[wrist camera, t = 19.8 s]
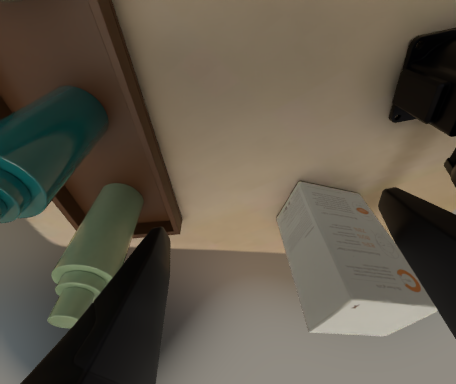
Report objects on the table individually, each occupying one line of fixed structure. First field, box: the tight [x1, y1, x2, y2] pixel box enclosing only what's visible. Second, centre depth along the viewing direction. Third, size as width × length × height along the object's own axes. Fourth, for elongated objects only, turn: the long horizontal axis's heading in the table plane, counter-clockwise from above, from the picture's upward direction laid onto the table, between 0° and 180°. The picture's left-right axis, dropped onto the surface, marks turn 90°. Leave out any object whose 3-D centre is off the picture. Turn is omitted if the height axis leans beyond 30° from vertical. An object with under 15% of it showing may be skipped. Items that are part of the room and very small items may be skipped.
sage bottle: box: [48, 183, 144, 328], centre depth 20 cm, size 5×5×12 cm
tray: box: [0, 0, 182, 238], centre depth 18 cm, size 11×28×2 cm, turn 5°
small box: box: [277, 181, 438, 336], centre depth 23 cm, size 8×6×13 cm
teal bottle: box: [0, 86, 109, 223], centre depth 14 cm, size 5×5×12 cm
